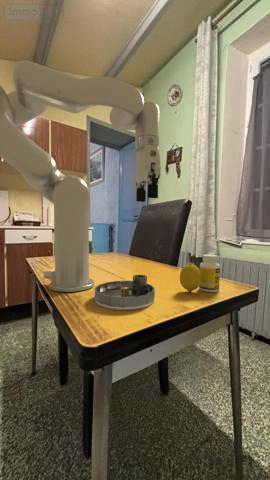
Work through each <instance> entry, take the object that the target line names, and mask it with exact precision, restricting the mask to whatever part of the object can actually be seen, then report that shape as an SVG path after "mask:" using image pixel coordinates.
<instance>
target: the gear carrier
mask: <svg viewBox="0 0 270 480" xmlns="http://www.w3.org/2000/svg"><path fill="white" fill-rule="evenodd" d="M131 288H133V280H115V281H105V282H103V283H100V284H98V285H97V286H95V287H94V302H95V305H97V306H98V307H100V308H102V309H105V310H109V311H110V310H111V311H119V312H122V311H123V312H126V311H127V312H128V311H137V310H143V309H146V308H149V307H150V306H152V305H153V304H154V303H155V296H156V287H154V286H153V285H152V284H150V283H147V288H148V294H145V295H140V296H137V295H134V294H132V293H131Z"/></svg>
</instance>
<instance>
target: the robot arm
mask: <svg viewBox="0 0 270 480" xmlns="http://www.w3.org/2000/svg"><path fill="white" fill-rule="evenodd" d="M12 78H13V79H12V81H13V85H14V90H13V91H11V92H8V94H7V92H6V90H5V89H4V87H3V86H2V85H1V84H0V158H2V159H3V160H4V162H7V164H9V165H10V166H11V167H13V168H14V170H16V171H17V172H18V173H20V175H21V176H22V177H23V179H24V180H25V182H26V183H27V185H29V186H30V187H31V188H32V189H33V190H35V191H36V192H37V193H38V194H40V195H41V196H42V197H43V198H45V199H46V200H48V201H49V202H50V203H52V204H53V227H54V229H53V230H54V231H53V232H54V270H53V271H51V270H45V271H44V274H43V279H50V280H51V282H50V283H49V284H48V285H49V287H48V288H49V289H50V290H52V291H54V292H60V293H61V292H62V293H71V292H72V293H74V292H81V291H86V290H89V289H91V288H93V287H94V286H95V280H94V279H92V278H90V232H89V231H90V229H89V228H90V226H89V225H90V224H89V223H90V206H91V205H90V204H91V193H90V188H89V186H88V184H87V183H86V181H85V180H84V179H82V178H81V177H79V176H77V175H75V174H73V175H72V174H70V175H65V174H63V172H61V171H60V170H59V169H58V167H57V163H56V161H55V159H54V158H53V157H52V155H51V154H49V153H48V152H47V151H46V150H44V149H43V148H41V147H40V146H39V145H38V144H37V143H36V142H35V141H33V140H32V139H31V138H29V137H28V136H27V135H26V134H25V133H24V132H23V131H22V130H21V129H19V127H20V126H22V125H24V124H25V123H26V124H27V123H28V122H30V121H32V120H33V119H35V118H37V117H39V116H41V115H42V114H44V113H45V111H46V110H47V109H48V107H52V108H55V109H59V110H62V111H65V112H69V113H71V114H78V113H81V112H83V111H85V110H87V109H90V108H92V107H96V106H102V107H103V106H104V107H109V108H111V110H110V112H109V122H110V124H111V126H112V127H114V129H117V130H120V131H135V135H134V136H135V137H134V139H135V141H134V142H135V143H134V144H135V153H136V161H135V163H136V165H135V166H136V167H135V182H136V184H135V186H136V187H135V190H136V195H135V196H136V198H135V199H136V200H135V201H136V202H139V203H140V202H141V203H145V202H146V197H147V198H148V199H158V198H159V184H160V182H159V181H160V179H161V153H160V107H159V106H158V104H157V103H155V102H153V101H144V96H143V95H142V92H140V90H139V89H138V88H136V87H135V86H134V85H132V84H130V83H128V82H125V81H122V80H120V79H118V78H114V77H110V76H94V77H93V76H90V77H85V78H79V77H74V76H71V75H69V74H67V73H63V72H61V71H58V70H55V69H53V68H51V67H47V66H44V65H42V64H39V63H36V62H33V61H30V60H26V59H25V60H20V61H17V62H16V64H15V65H14V68H13V71H12ZM146 186H147V195H146Z"/></svg>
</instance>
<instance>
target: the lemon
mask: <svg viewBox="0 0 270 480" xmlns="http://www.w3.org/2000/svg"><path fill="white" fill-rule="evenodd" d="M200 282H201V274H200V268H198V266H196V265H195V264H193V263H192V262H189V263H188V264H186V265H184V266H183V267H182V268H181V270H180V273H179V283H180V285H181V287H182V288H183V289H184V290H186V291H187V292H188V293H192V292H193V291H196V290H197V289H199V285H200Z"/></svg>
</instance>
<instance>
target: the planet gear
mask: <svg viewBox="0 0 270 480" xmlns="http://www.w3.org/2000/svg"><path fill="white" fill-rule="evenodd" d="M132 281H133V288H131V293H132V294H134V295H137V296H140V295H145V294H148V288H147V284H148V276H147V275H146V274H134V275H132Z"/></svg>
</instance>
